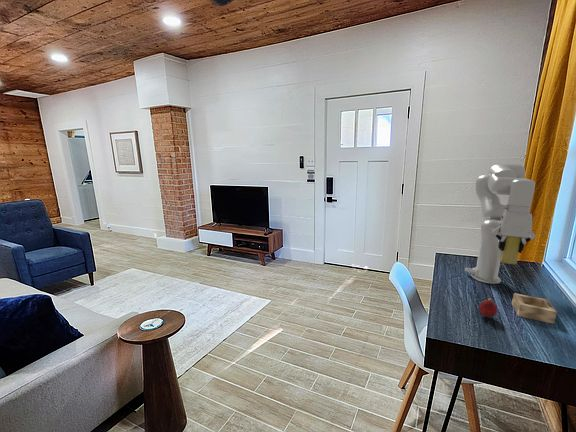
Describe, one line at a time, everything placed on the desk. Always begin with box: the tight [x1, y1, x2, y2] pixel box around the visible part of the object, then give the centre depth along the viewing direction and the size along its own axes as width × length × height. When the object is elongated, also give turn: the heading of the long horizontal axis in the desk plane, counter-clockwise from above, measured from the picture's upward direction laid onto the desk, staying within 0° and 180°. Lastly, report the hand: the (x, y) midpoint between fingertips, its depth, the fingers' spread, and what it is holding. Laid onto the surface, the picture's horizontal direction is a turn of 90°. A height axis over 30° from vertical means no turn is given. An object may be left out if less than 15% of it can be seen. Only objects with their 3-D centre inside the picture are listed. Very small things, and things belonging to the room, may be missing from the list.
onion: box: [478, 298, 498, 318], centre depth 109 cm, size 6×6×8 cm
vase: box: [499, 236, 521, 265], centre depth 117 cm, size 6×6×14 cm
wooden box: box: [511, 292, 558, 325], centre depth 113 cm, size 11×11×5 cm
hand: (510, 250), depth 118 cm, fingers closed on vase, 5 cm apart
